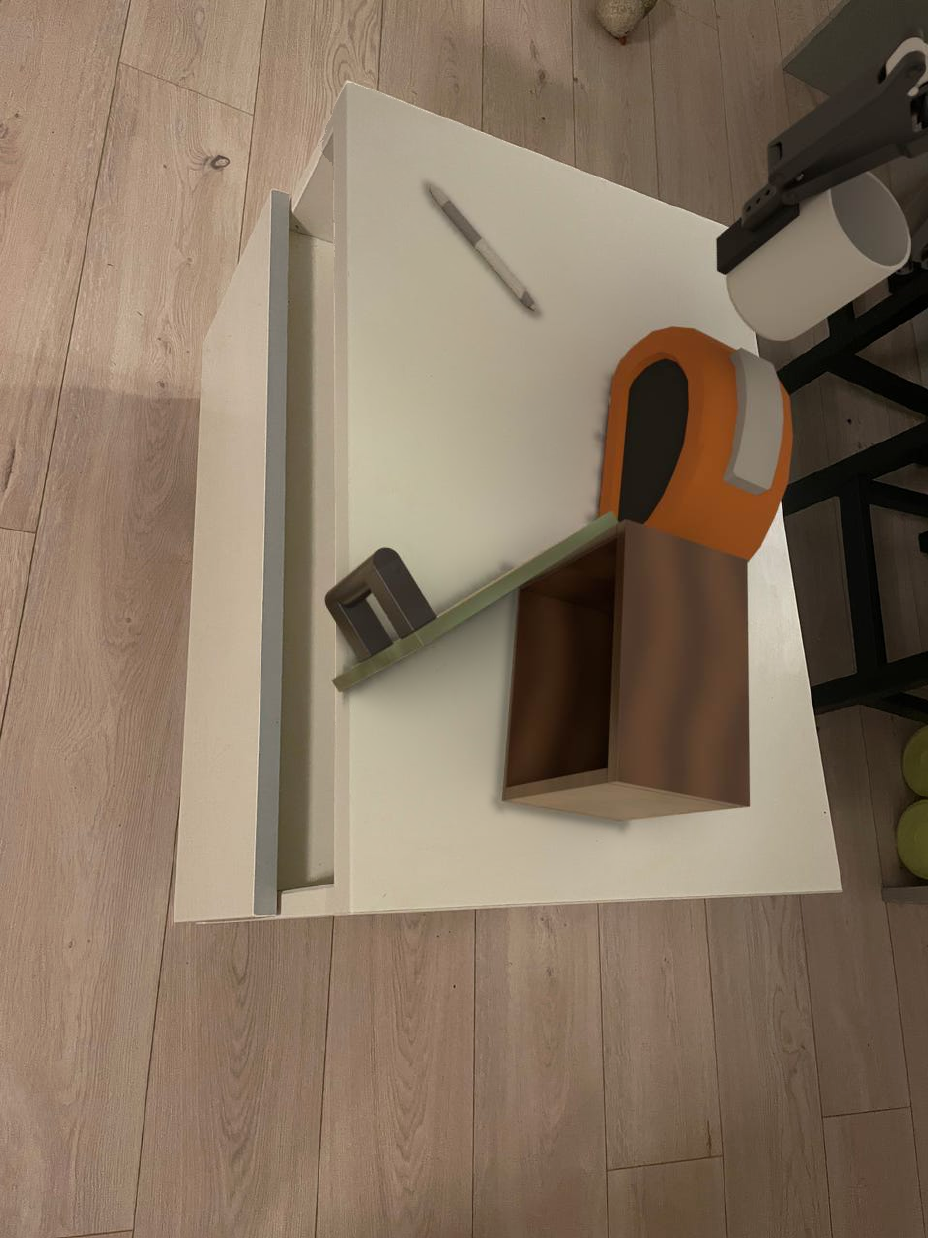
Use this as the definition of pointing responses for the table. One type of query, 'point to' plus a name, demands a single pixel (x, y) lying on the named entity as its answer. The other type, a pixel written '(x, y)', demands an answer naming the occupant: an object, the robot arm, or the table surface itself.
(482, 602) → the cupboard door
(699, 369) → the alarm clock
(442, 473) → the table surface
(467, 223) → the pen
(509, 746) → the cupboard
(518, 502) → the table surface
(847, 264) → the cup
